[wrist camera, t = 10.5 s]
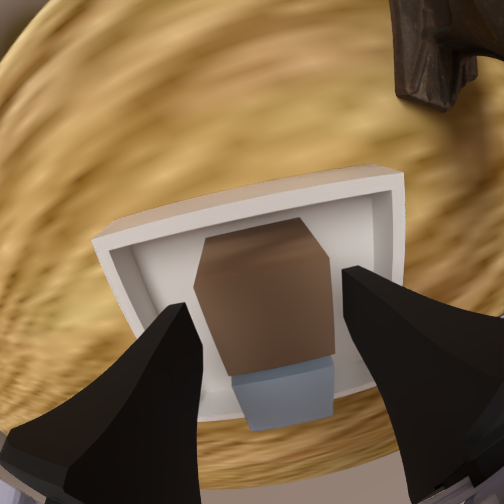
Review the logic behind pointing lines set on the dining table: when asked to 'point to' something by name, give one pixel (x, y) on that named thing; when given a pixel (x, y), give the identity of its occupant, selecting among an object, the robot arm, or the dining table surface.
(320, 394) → the gray block
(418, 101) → the sculpture
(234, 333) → the walnut block
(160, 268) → the dish
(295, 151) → the dining table surface
